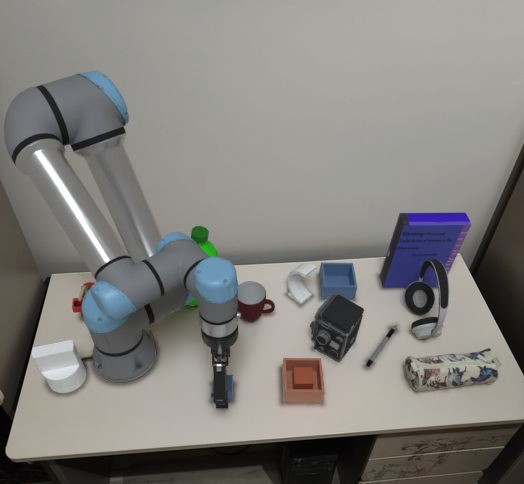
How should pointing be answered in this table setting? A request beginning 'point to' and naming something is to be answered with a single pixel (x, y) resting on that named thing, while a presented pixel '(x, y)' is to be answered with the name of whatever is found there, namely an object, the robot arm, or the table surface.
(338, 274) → the blue bin
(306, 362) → the clay bin
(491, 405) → the table surface
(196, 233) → the plastic bottle
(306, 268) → the headphone stand
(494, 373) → the pencil case
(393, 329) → the pen
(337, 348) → the camera
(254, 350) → the table surface
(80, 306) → the toy fire truck
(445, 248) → the blue book
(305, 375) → the terracotta block
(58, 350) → the base with upright slab
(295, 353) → the table surface
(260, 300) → the mug
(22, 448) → the table surface
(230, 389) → the blue block
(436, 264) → the headphones
